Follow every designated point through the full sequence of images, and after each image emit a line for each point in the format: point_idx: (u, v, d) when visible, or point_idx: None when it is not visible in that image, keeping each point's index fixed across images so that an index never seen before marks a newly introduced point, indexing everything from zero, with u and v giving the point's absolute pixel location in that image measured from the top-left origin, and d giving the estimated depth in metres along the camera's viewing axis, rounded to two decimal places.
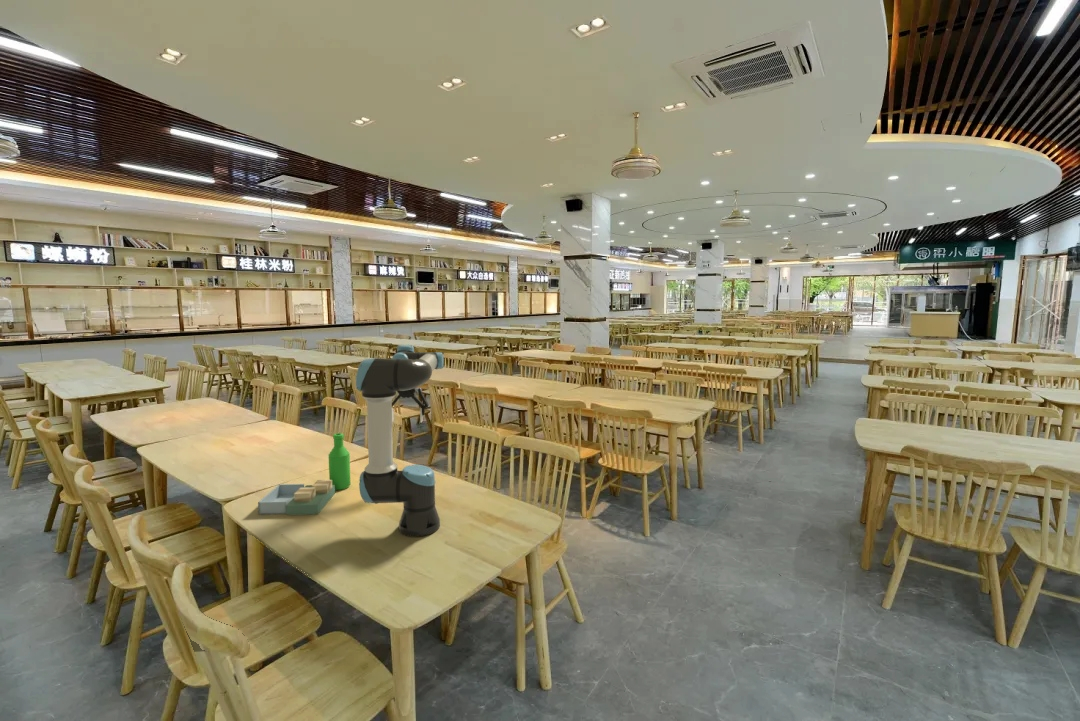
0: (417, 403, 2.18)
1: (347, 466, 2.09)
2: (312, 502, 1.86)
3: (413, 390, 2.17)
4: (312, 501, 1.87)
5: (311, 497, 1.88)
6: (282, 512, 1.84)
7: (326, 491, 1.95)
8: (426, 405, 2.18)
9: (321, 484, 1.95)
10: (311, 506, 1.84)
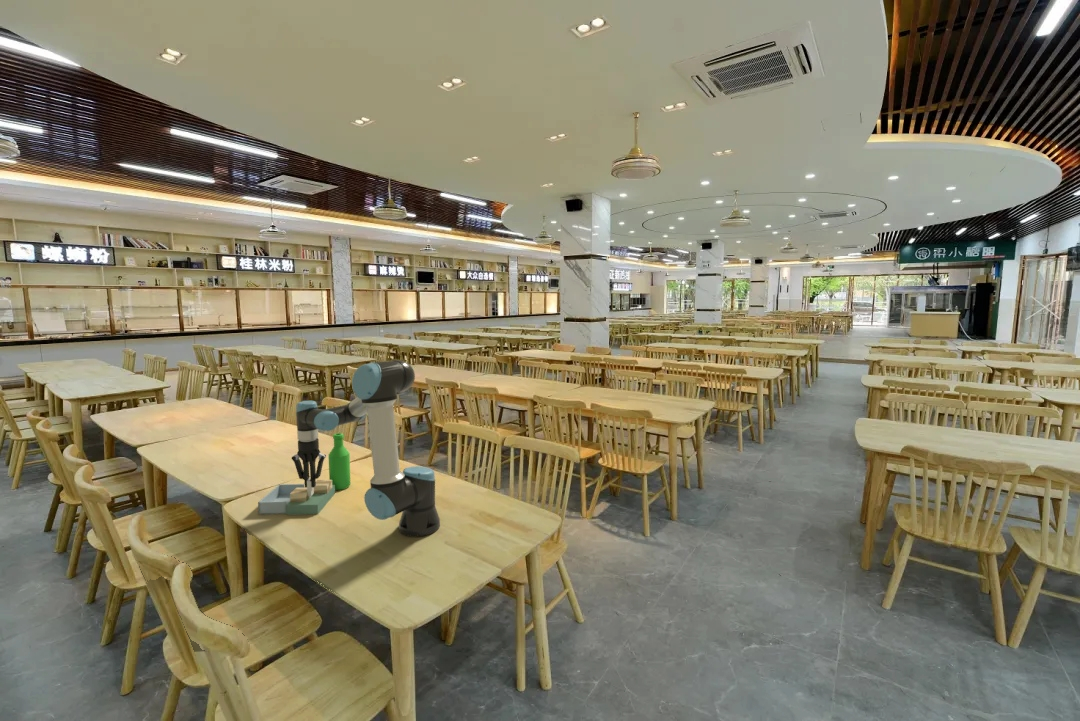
0: (310, 471, 1.87)
1: (347, 466, 2.09)
2: (312, 502, 1.86)
3: (316, 454, 1.87)
4: (312, 501, 1.87)
5: (307, 497, 1.88)
6: (282, 512, 1.84)
7: (326, 491, 1.95)
8: (317, 476, 1.88)
9: (321, 484, 1.95)
10: (311, 506, 1.84)
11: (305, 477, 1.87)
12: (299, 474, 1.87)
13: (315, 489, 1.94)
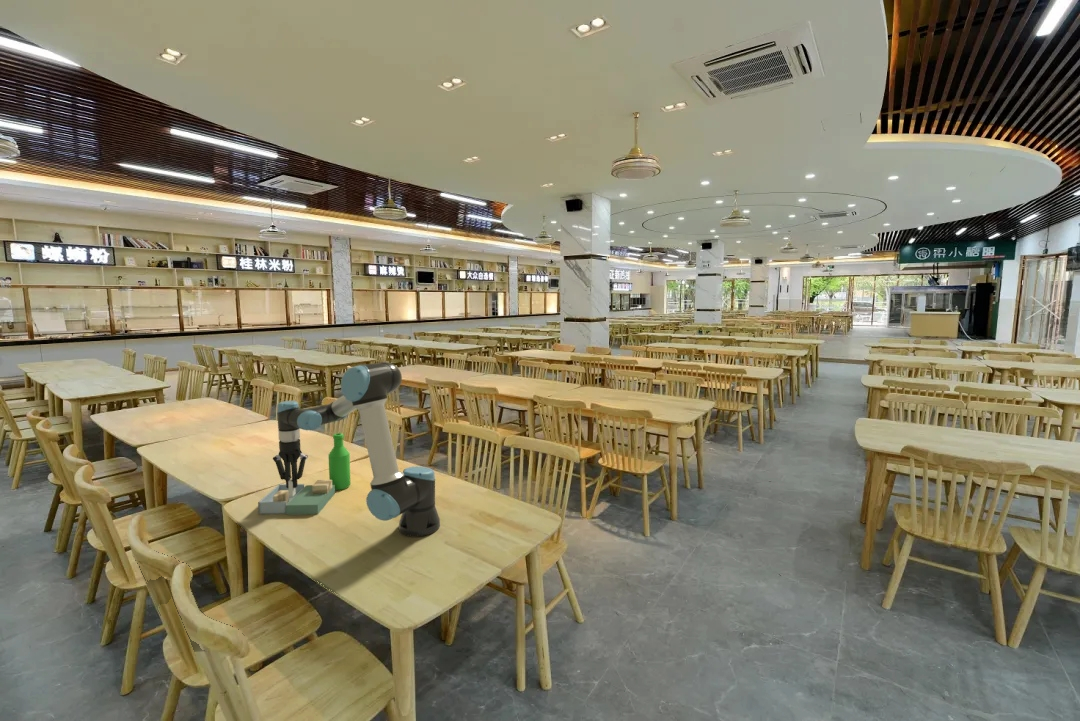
0: None
1: (347, 466, 2.09)
2: (312, 502, 1.86)
3: (297, 454, 1.86)
4: (312, 501, 1.87)
5: (281, 494, 1.87)
6: (282, 512, 1.84)
7: (326, 491, 1.95)
8: (298, 477, 1.87)
9: (321, 484, 1.95)
10: (311, 506, 1.84)
11: (286, 478, 1.86)
12: (280, 475, 1.86)
13: (315, 489, 1.94)
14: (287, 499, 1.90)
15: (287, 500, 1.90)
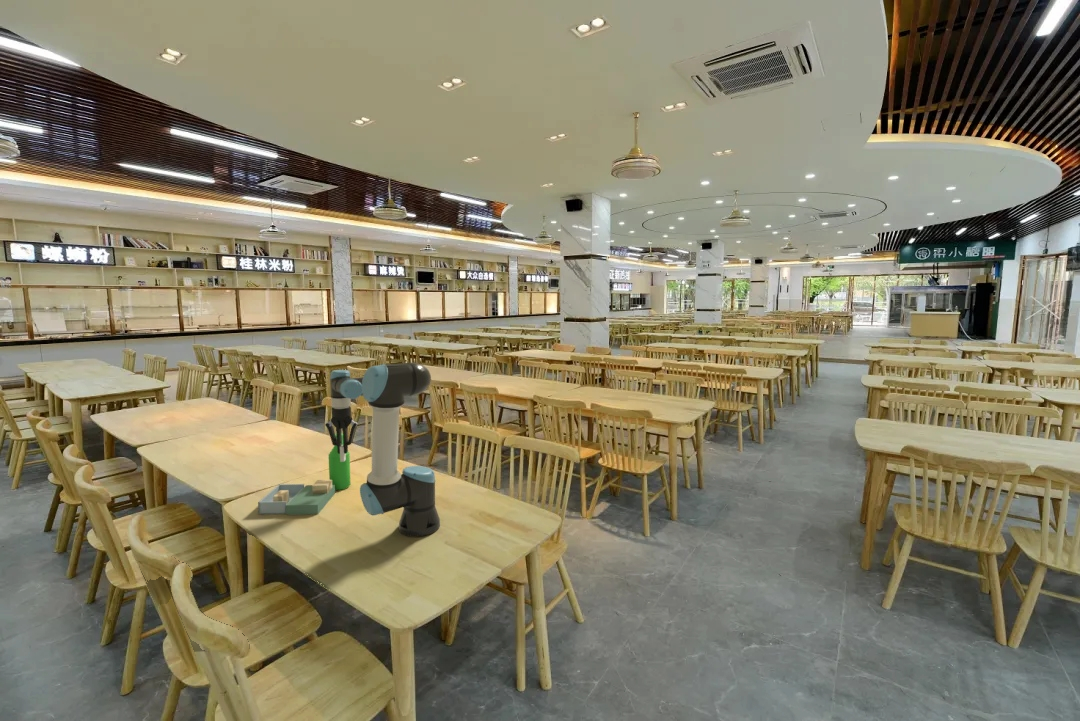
0: (343, 438, 1.94)
1: (347, 466, 2.09)
2: (312, 502, 1.86)
3: (349, 421, 1.94)
4: (312, 501, 1.87)
5: (281, 494, 1.87)
6: (282, 512, 1.84)
7: (326, 491, 1.95)
8: (349, 442, 1.95)
9: (321, 484, 1.95)
10: (311, 506, 1.84)
11: (338, 443, 1.95)
12: (332, 440, 1.94)
13: (315, 489, 1.94)
14: (287, 499, 1.90)
15: (287, 500, 1.90)
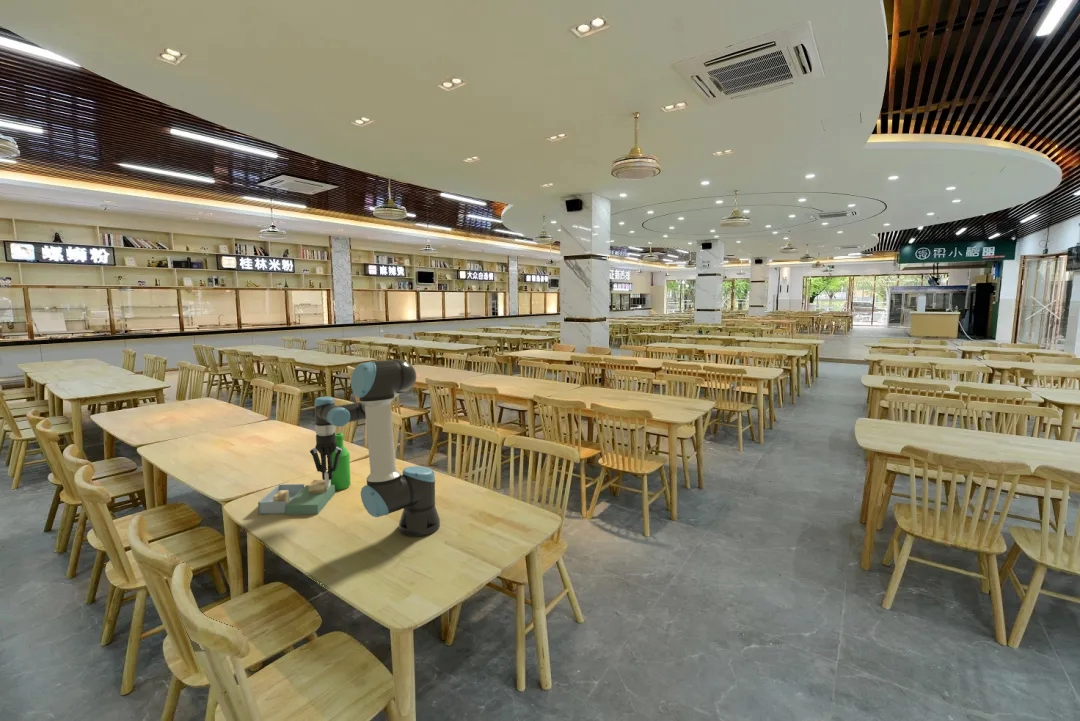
0: None
1: (347, 466, 2.09)
2: (312, 502, 1.86)
3: (333, 447, 1.95)
4: (312, 501, 1.87)
5: (281, 494, 1.87)
6: (282, 512, 1.84)
7: (322, 491, 1.95)
8: (334, 469, 1.96)
9: (317, 484, 1.95)
10: (311, 506, 1.84)
11: (323, 470, 1.96)
12: (317, 467, 1.95)
13: (311, 489, 1.94)
14: (287, 499, 1.90)
15: (287, 500, 1.90)
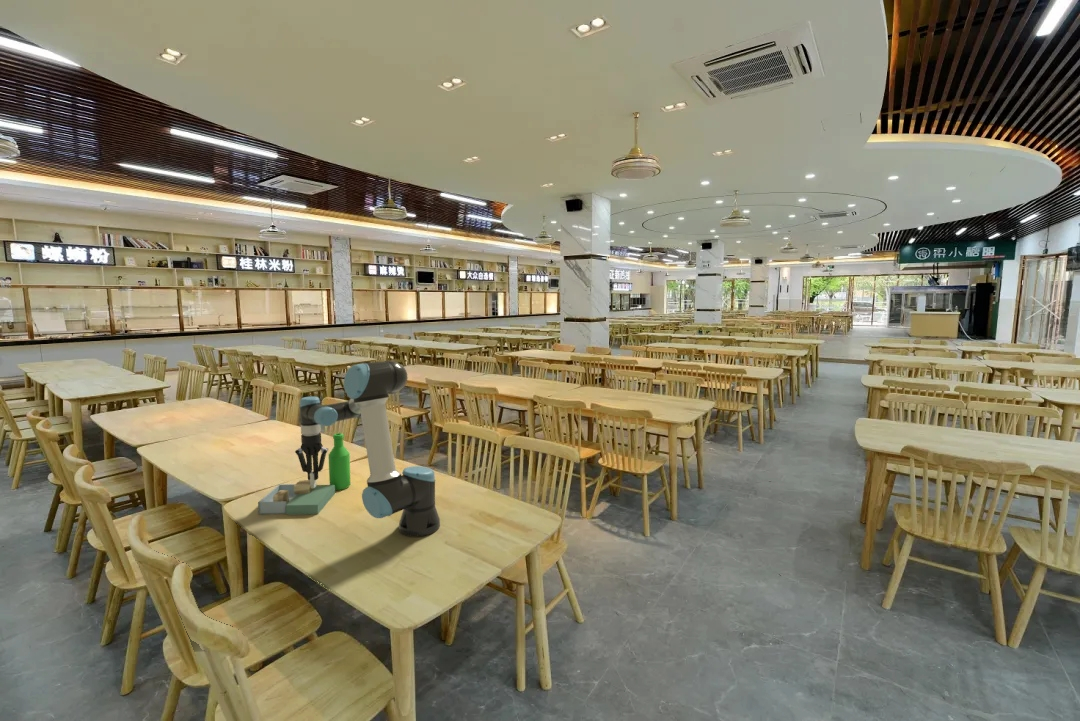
0: (313, 464, 1.95)
1: (347, 466, 2.09)
2: (312, 502, 1.86)
3: (319, 448, 1.94)
4: (312, 501, 1.87)
5: (281, 494, 1.87)
6: (282, 512, 1.84)
7: (308, 491, 1.94)
8: (319, 469, 1.95)
9: (303, 484, 1.95)
10: (311, 506, 1.84)
11: (308, 470, 1.95)
12: (302, 467, 1.95)
13: (296, 489, 1.94)
14: (287, 499, 1.90)
15: (287, 500, 1.90)
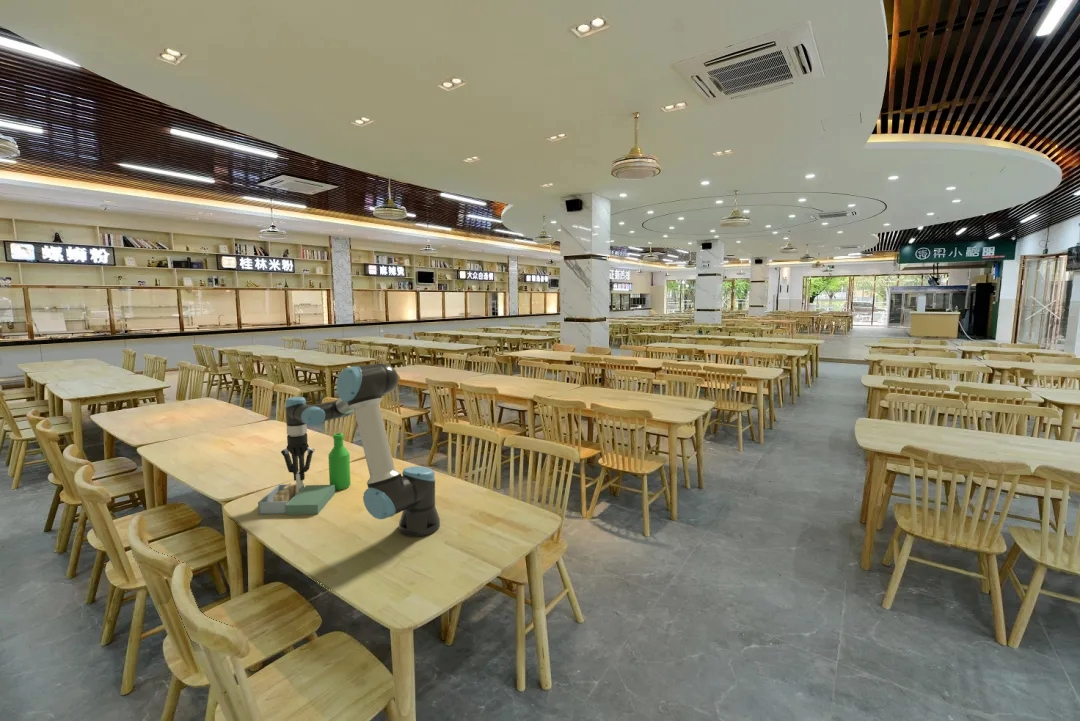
0: (299, 465, 1.94)
1: (347, 466, 2.09)
2: (312, 502, 1.86)
3: (305, 448, 1.94)
4: (312, 501, 1.87)
5: (281, 494, 1.87)
6: (282, 512, 1.84)
7: (290, 489, 1.93)
8: (305, 469, 1.95)
9: None
10: (311, 506, 1.84)
11: (294, 470, 1.94)
12: (288, 467, 1.94)
13: None
14: (287, 499, 1.90)
15: (287, 500, 1.90)
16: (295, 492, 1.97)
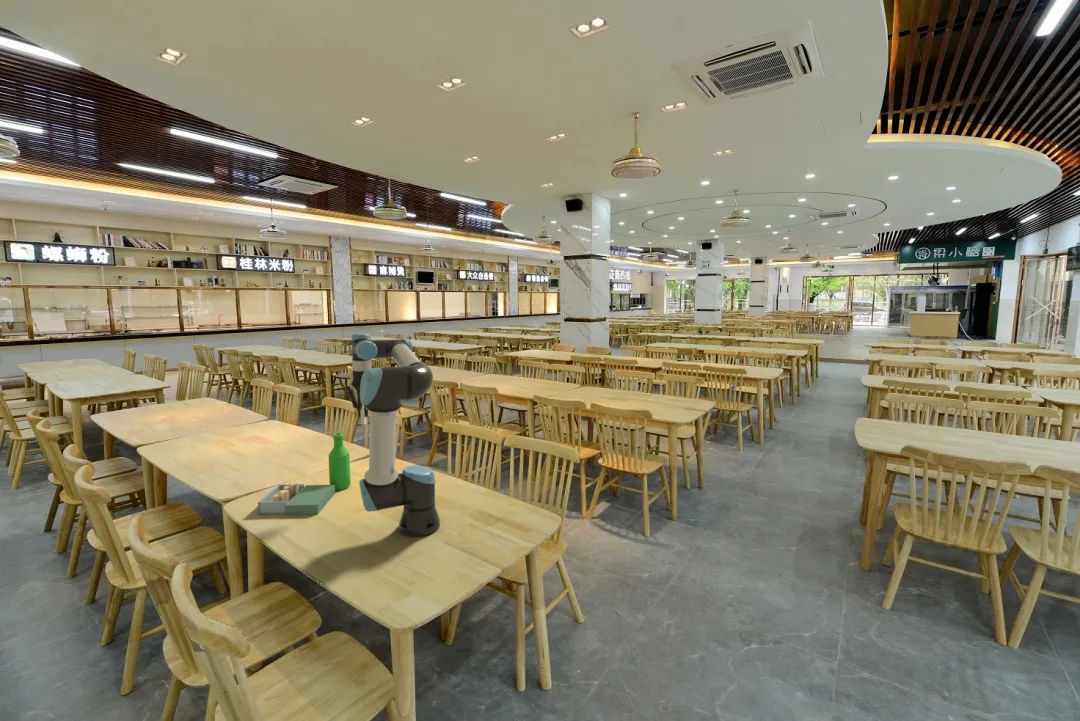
0: None
1: (347, 466, 2.09)
2: (312, 502, 1.86)
3: None
4: (312, 501, 1.87)
5: (281, 494, 1.87)
6: (282, 512, 1.84)
7: (290, 489, 1.93)
8: None
9: None
10: (311, 506, 1.84)
11: (359, 406, 1.96)
12: (353, 403, 1.96)
13: None
14: (287, 499, 1.90)
15: (287, 500, 1.90)
16: (295, 492, 1.97)
